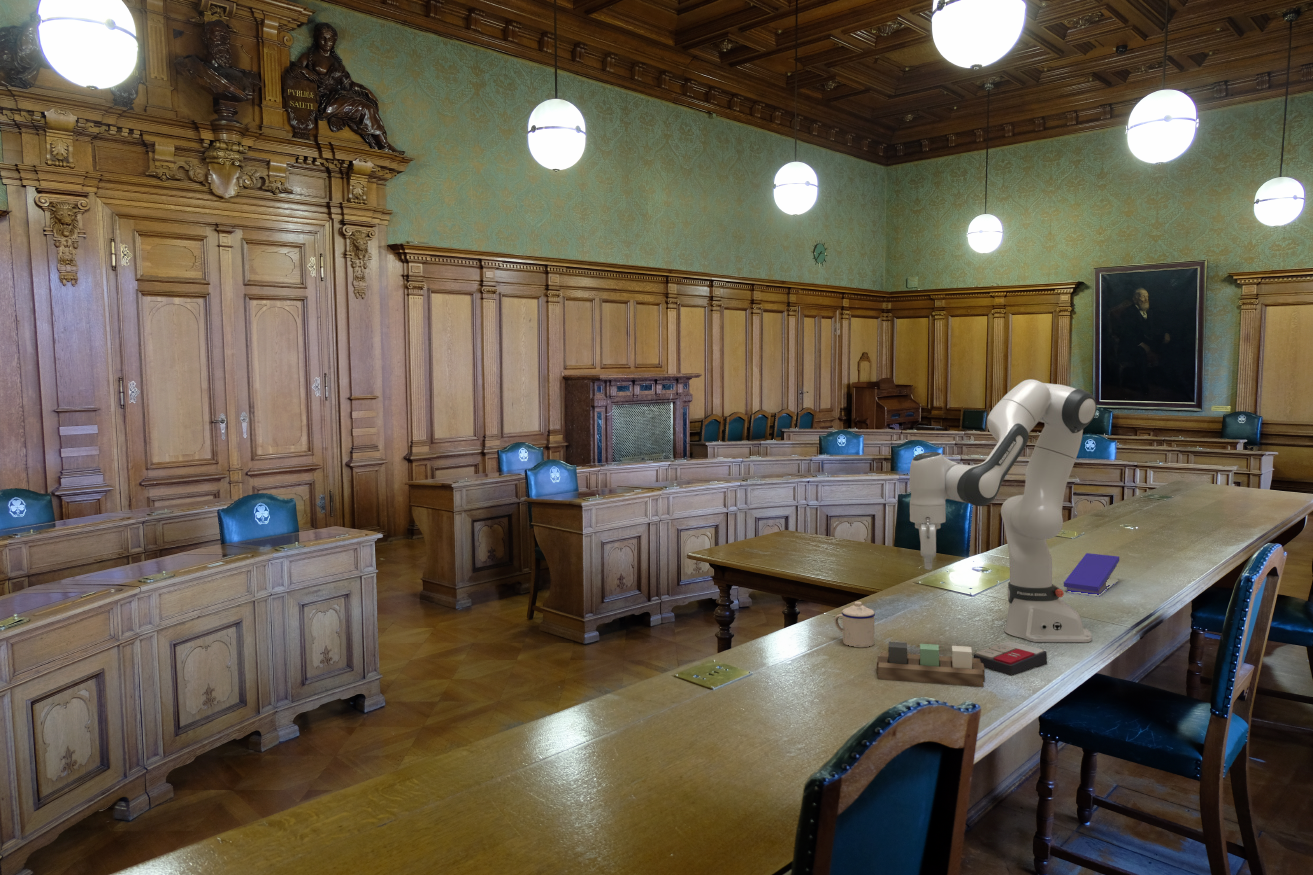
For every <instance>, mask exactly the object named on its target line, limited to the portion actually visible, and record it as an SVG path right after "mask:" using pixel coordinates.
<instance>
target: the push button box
mask: <svg viewBox="0 0 1313 875" xmlns="http://www.w3.org/2000/svg"><path fill="white" fill-rule="evenodd" d="M972 658H977V659H980V661H981V663H983V665H984V669H987V670H991V671H993V672H997V673H1000V674H1002V675H1003V674H1004V675H1007V676H1010V677H1012V676H1016V675H1019V674H1022V673H1025V672H1027V671H1029V670H1033V669H1036V668H1041V667H1044V666H1047V665H1048V655H1047V651H1046V650H1045V649H1043V648H1042V649H1041V648H1038V647H1034V646H1031V645H1026V644H1022V643H1019V642H1016V641H1011V640H1008V641H1005V642H1003V643H998V644H995V645H993V646H992V645H991V646H990V647H988V648H984V649H982V650H979V651H977V652H975V653H974V654H972Z"/></svg>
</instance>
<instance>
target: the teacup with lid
mask: <svg viewBox="0 0 1313 875" xmlns="http://www.w3.org/2000/svg"><path fill="white" fill-rule="evenodd" d="M875 616H876V614H875V611H874V609H871V608H868V607H867V606H865V605H863V604H862V602H861V601H854V604H853V605H851V606H849V607H846V608H843V609H842V610H841V613H840V614H837V615H836V616H834V625H835V628H836V630H838V631H839V632H841V633H842V642H843V644H844V645H846V646H848V645H849V647H851V646H854V647H853V648H869V646H870V647H872V646H874V645H875ZM839 618H842V627H841V625H840V623H839Z"/></svg>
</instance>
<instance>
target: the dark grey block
mask: <svg viewBox="0 0 1313 875" xmlns="http://www.w3.org/2000/svg"><path fill="white" fill-rule="evenodd" d="M887 650H888V651H887V652H888V659H889V663H895V664H907V654H908V642H902V641H900V642H899V641H888V647H887Z"/></svg>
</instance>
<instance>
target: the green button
mask: <svg viewBox="0 0 1313 875" xmlns="http://www.w3.org/2000/svg"><path fill="white" fill-rule="evenodd" d="M939 648H940V646H939V644H935V643H933V644H931V643H919V655H920V665H923V666H937V667H939V656H940V649H939Z"/></svg>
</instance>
